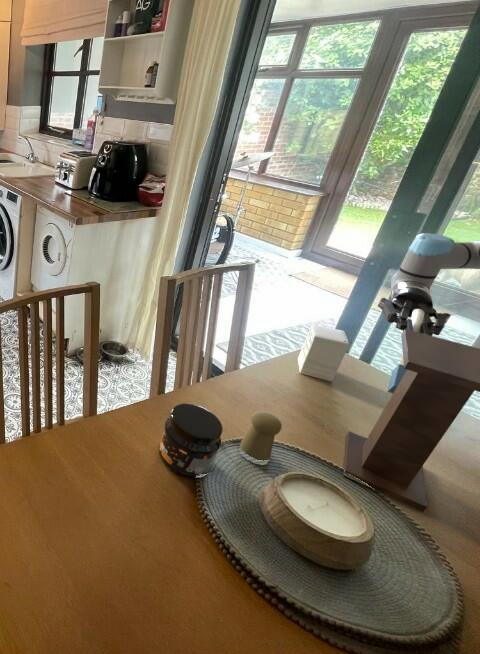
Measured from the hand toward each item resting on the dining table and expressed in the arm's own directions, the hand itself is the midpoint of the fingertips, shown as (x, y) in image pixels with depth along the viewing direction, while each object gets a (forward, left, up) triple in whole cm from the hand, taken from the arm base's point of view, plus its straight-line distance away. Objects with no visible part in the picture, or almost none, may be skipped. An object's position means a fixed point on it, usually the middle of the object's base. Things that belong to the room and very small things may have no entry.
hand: (416, 337), depth 96 cm
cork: (+21, +40, -20) cm, 50 cm away
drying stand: (0, +27, -20) cm, 34 cm away
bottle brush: (0, 0, -5) cm, 5 cm away
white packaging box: (+14, -4, -20) cm, 25 cm away
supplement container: (+32, +52, -20) cm, 65 cm away
